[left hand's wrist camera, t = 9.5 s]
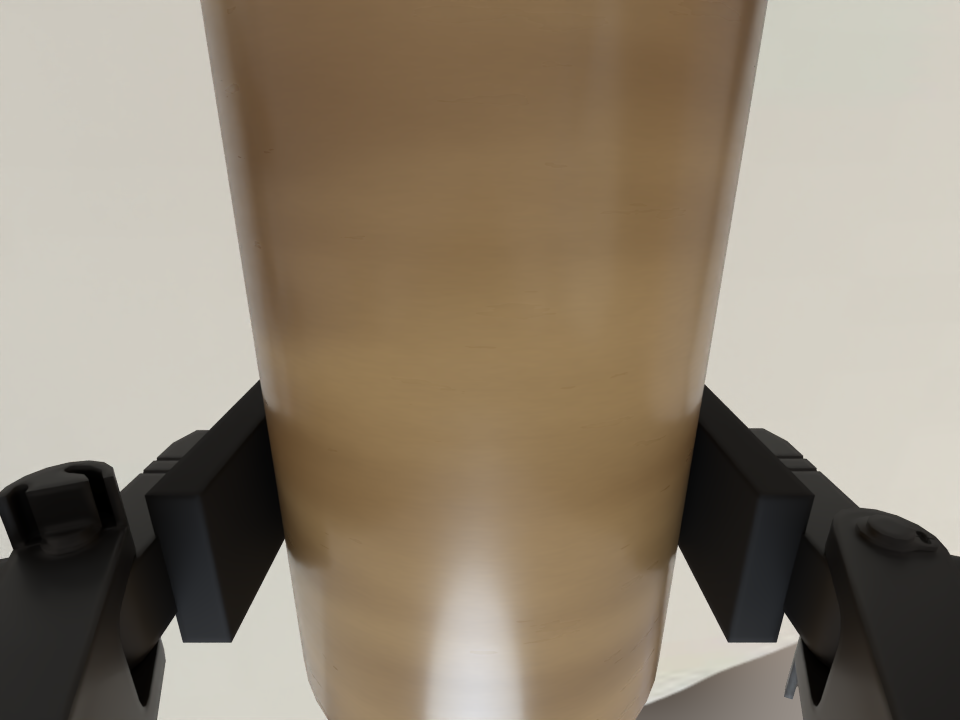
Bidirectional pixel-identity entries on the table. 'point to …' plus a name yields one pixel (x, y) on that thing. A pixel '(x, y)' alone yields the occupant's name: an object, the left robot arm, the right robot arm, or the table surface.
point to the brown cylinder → (482, 328)
